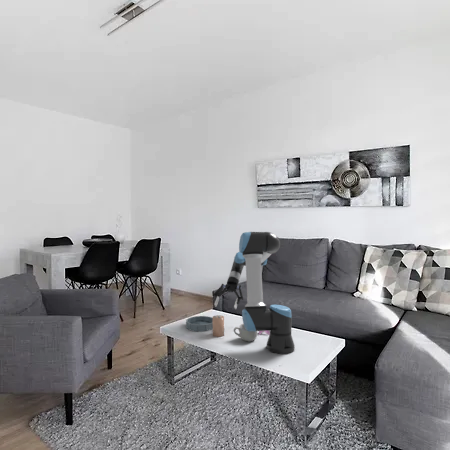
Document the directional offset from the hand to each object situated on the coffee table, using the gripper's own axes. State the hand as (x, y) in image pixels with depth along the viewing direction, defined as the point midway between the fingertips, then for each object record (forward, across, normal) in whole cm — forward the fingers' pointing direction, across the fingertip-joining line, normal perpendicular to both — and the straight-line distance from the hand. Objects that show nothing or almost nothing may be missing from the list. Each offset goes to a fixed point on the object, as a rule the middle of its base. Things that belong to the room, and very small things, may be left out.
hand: (225, 307), depth 218 cm
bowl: (+11, +17, -10) cm, 22 cm away
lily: (+8, -24, -13) cm, 29 cm away
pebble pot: (+18, 0, -3) cm, 18 cm away
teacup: (+19, -18, -2) cm, 26 cm away
